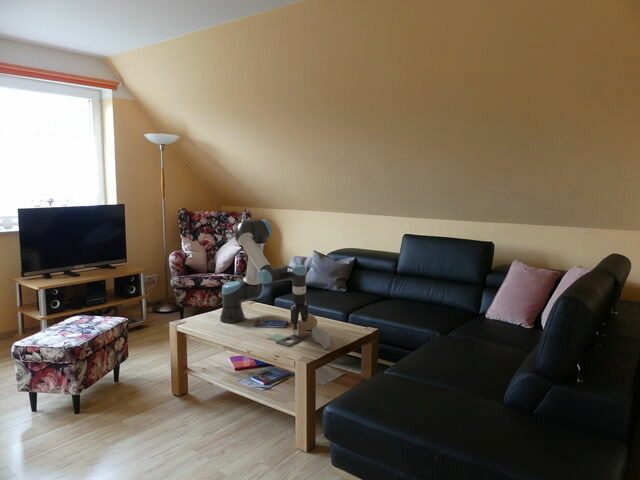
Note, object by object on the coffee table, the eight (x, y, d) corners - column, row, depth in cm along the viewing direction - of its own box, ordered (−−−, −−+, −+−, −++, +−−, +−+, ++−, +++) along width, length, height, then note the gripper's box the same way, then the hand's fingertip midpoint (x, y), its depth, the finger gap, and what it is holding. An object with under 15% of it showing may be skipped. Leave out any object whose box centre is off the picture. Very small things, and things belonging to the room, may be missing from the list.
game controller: (331, 350, 251) (331, 335, 249) (327, 351, 250) (327, 335, 248) (315, 339, 268) (315, 324, 267) (311, 339, 267) (311, 325, 266)
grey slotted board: (275, 343, 261) (275, 341, 261) (301, 332, 278) (301, 330, 278) (288, 346, 256) (288, 345, 255) (313, 335, 273) (313, 333, 273)
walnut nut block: (293, 337, 270) (293, 322, 268) (299, 335, 274) (299, 320, 272) (300, 339, 267) (300, 323, 265) (306, 337, 271) (306, 321, 269)
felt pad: (267, 338, 269) (267, 337, 269) (277, 334, 275) (277, 333, 275) (278, 341, 264) (278, 340, 264) (287, 337, 270) (287, 336, 270)
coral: (316, 314, 290) (318, 312, 281) (315, 331, 288) (317, 329, 278) (300, 313, 290) (301, 311, 280) (300, 330, 287) (301, 329, 277)
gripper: (294, 297, 257) (294, 339, 260) (314, 290, 272) (314, 330, 275) (283, 295, 262) (284, 336, 265) (304, 288, 276) (304, 328, 279)
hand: (299, 333), depth 270 cm, fingers closed on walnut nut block, 5 cm apart
